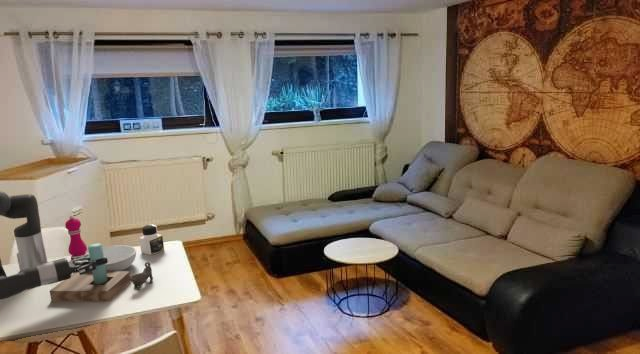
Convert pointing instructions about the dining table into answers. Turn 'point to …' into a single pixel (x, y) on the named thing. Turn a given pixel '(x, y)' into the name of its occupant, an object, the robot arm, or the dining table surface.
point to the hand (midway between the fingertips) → (105, 258)
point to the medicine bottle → (151, 240)
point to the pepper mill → (75, 237)
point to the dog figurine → (142, 277)
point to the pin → (100, 270)
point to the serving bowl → (118, 257)
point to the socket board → (90, 287)
